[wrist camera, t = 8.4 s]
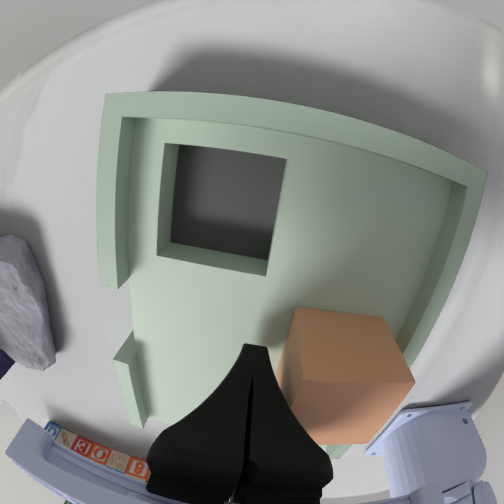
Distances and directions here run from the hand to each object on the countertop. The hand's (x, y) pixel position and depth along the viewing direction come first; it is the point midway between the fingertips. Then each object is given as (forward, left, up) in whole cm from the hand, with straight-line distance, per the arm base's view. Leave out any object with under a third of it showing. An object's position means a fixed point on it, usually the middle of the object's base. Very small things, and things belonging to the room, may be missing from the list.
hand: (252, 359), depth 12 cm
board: (0, 0, -3) cm, 3 cm away
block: (-4, -1, -1) cm, 4 cm away
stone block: (+20, +4, -4) cm, 21 cm away
